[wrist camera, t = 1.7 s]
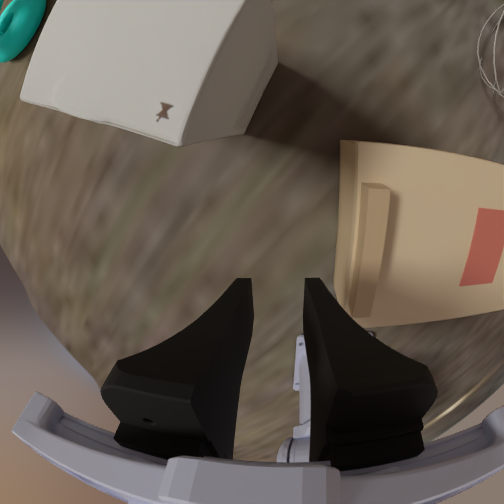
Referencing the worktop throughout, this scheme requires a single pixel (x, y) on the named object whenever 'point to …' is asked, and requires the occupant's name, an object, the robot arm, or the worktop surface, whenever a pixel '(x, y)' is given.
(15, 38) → the donuts
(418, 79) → the worktop surface
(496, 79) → the kitchen whisk
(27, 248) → the worktop surface
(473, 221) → the lid
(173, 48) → the small box
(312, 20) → the worktop surface
